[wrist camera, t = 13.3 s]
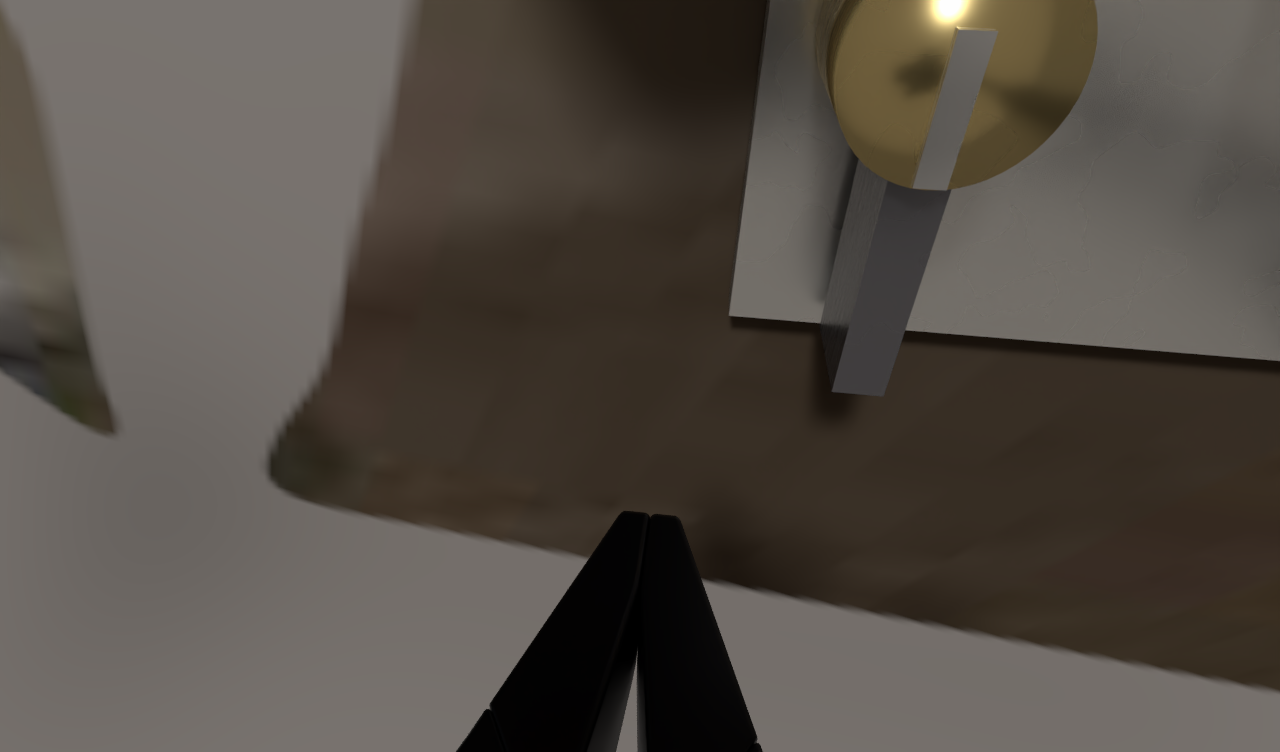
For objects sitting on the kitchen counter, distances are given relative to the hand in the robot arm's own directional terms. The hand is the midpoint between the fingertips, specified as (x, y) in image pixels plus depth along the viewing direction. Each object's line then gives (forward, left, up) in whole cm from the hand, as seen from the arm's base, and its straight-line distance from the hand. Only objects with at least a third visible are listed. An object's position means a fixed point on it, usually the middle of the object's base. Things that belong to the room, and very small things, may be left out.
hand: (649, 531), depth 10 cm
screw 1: (+2, -4, -10) cm, 11 cm away
